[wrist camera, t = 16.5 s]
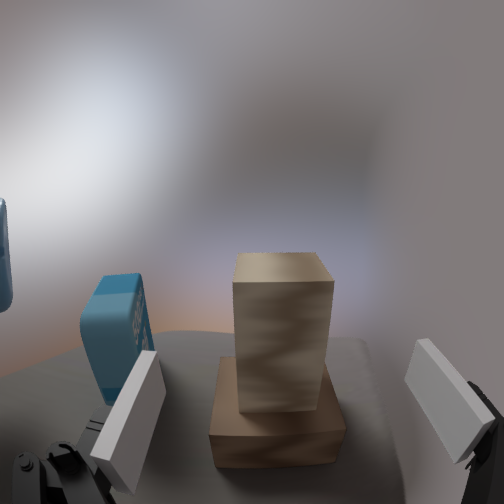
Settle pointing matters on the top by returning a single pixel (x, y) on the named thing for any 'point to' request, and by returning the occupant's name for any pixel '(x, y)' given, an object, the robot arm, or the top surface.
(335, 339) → the top surface
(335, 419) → the block
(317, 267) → the birch block
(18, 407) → the top surface
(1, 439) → the top surface
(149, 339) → the data package
